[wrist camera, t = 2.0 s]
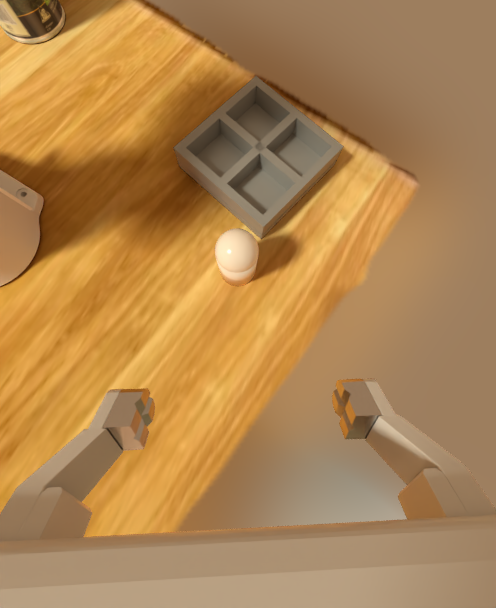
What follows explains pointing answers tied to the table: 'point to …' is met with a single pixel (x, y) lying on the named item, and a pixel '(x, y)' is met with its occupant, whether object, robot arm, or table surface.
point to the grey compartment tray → (257, 155)
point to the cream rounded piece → (237, 256)
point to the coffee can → (31, 19)
